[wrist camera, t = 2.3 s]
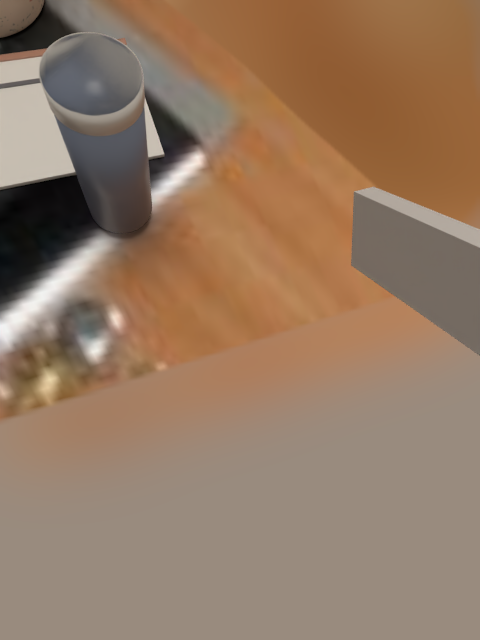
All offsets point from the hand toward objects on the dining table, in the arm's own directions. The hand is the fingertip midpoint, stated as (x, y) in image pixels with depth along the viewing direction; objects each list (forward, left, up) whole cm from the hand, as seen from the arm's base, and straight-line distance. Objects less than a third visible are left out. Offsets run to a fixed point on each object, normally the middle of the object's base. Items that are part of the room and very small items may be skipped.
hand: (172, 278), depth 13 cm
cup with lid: (0, +10, -15) cm, 18 cm away
